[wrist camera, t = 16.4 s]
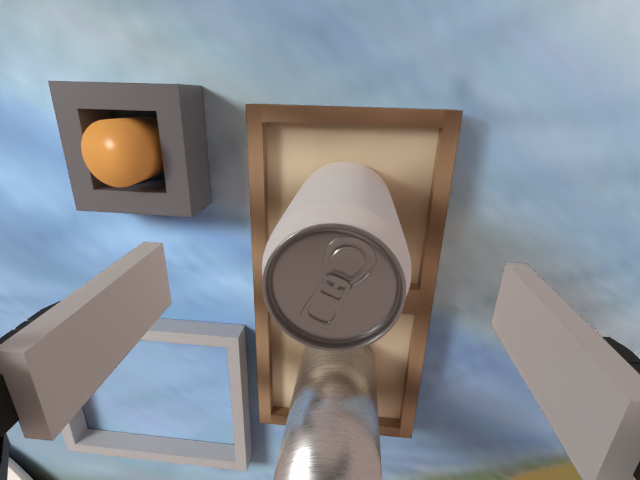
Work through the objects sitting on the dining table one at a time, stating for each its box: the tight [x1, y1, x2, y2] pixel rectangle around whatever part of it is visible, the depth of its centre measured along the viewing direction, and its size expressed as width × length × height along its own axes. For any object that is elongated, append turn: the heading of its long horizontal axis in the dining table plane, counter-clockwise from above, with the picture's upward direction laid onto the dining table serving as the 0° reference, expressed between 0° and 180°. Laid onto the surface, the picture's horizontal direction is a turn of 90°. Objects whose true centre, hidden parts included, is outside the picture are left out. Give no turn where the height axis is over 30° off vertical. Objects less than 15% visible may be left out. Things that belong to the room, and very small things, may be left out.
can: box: [262, 162, 411, 352], centre depth 20 cm, size 6×6×12 cm
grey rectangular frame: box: [62, 318, 252, 471], centre depth 34 cm, size 15×18×2 cm
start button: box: [81, 116, 164, 187], centre depth 24 cm, size 4×4×4 cm
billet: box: [274, 345, 382, 480], centre depth 25 cm, size 6×6×12 cm
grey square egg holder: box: [48, 81, 212, 217], centre depth 25 cm, size 8×8×4 cm
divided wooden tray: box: [246, 104, 463, 438], centre depth 28 cm, size 26×13×2 cm, turn 179°
